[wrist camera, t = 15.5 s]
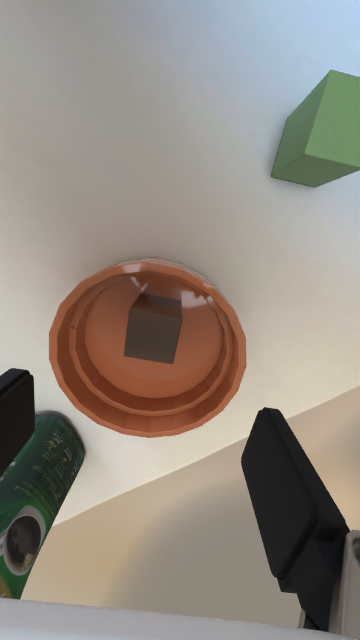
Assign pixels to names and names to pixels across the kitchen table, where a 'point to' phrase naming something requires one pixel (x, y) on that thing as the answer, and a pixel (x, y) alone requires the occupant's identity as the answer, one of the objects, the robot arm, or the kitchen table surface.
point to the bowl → (143, 375)
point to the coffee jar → (34, 497)
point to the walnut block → (153, 328)
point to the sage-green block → (322, 134)
